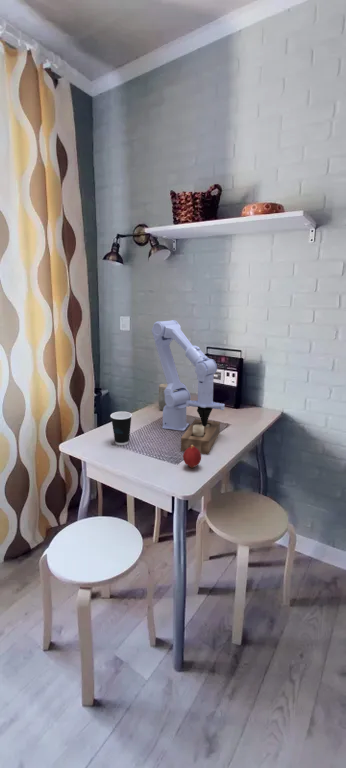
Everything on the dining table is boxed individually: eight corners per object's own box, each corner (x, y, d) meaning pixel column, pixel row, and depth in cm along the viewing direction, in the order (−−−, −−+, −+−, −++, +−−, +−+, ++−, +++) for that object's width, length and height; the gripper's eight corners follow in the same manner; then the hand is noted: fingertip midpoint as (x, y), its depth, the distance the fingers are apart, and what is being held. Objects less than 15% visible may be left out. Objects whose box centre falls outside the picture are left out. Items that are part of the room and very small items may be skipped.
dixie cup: (131, 437, 150) (130, 410, 147) (134, 445, 142) (133, 417, 140) (110, 439, 148) (109, 412, 145) (112, 448, 141) (111, 419, 138)
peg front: (191, 439, 140) (191, 427, 138) (194, 435, 143) (194, 424, 142) (202, 441, 138) (202, 429, 137) (204, 436, 142) (205, 425, 141)
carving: (155, 410, 182) (155, 385, 179) (164, 405, 188) (164, 382, 185) (166, 412, 178) (166, 387, 175) (175, 408, 184) (175, 384, 181)
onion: (190, 461, 130) (190, 439, 128) (204, 466, 127) (205, 444, 125) (179, 467, 126) (179, 445, 124) (193, 473, 122) (194, 450, 120)
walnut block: (180, 450, 139) (181, 437, 137) (194, 430, 157) (195, 419, 156) (208, 454, 136) (208, 441, 134) (219, 433, 154) (219, 421, 153)
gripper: (184, 392, 145) (183, 426, 148) (222, 396, 140) (221, 431, 144) (189, 388, 151) (188, 420, 155) (226, 391, 147) (224, 424, 150)
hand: (204, 425), depth 150 cm, fingers closed, pressing on peg back
